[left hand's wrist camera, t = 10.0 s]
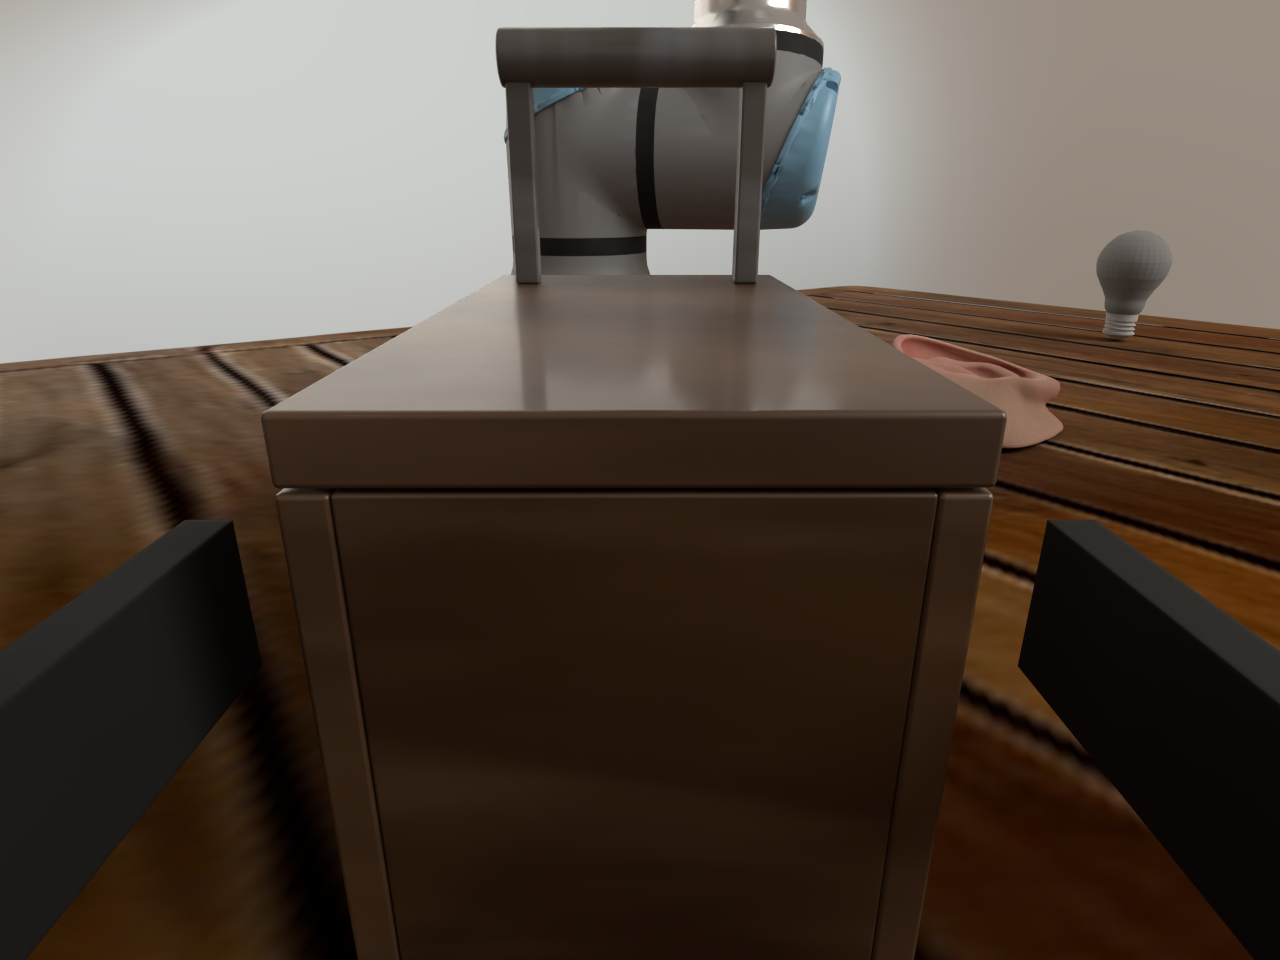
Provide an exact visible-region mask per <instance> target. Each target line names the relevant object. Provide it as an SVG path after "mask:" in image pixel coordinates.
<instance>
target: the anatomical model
mask: <svg viewBox="0 0 1280 960" xmlns="http://www.w3.org/2000/svg"><path fill="white" fill-rule="evenodd" d="M892 346H893V347H894V348H896V349H898V350H900V351H901V352H903V353H905V354H906V355H908V356H910V357H912V358H913V359H915V360H917V361H919V362H920V363H922V364H924V365H925V366H927V367H929V368H931V369H932V370H934V371H936V372H937V373H939V374H941V375H943V376H944V377H946V378H948V379H950V380H951V381H953V382H955V383H956V384H958V385H960V386H962V387H963V388H965V389H967V390H968V391H970V392H972V393H974V394H975V395H977V396H979V397H980V398H982V399H984V400H986V401H987V402H989V403H991V404H993V405H994V406H996V407H998V408H999V409H1001V410H1003V411H1005V412H1006V416H1007V422H1006V427H1005V433H1004V439H1003V445H1002V448H1022V447H1027V446H1031V445H1034V444H1037V443H1040V442H1042V441H1045V440H1047V439H1050V438H1052V437H1054V436H1055V435H1057V434H1058V433H1059V432H1061V431H1062V430H1063V425H1062V423H1061V422H1060V421H1059V420H1058V419H1057V418H1056V417H1055V416H1054V415H1053V414H1052V413H1051V412H1050V411H1049V410H1048V409H1047V408H1046V406H1045V404H1046V403H1047V402H1048V401H1049V400H1051V399H1052V398H1054V397H1055V396H1056V395H1057V394H1058V393H1059V390H1060V383H1059V382H1058V381H1057V380H1055V379H1053V378H1050V377H1048V376H1045V375H1042V374H1039V373H1037V372H1034V371H1031V370H1028V369H1025V368H1023V367H1020V366H1017V365H1015V364H1012V363H1010V362H1007V361H1004V360H1001V359H998V358H996V357H992V356H989V355H986V354H982V353H979V352H975V351H972V350H969V349H966V348H962V347H959V346H956V345H952V344H949V343H945V342H942V341H938V340H935V339H931V338H927V337H922V336H917V335H901V336H898V337H896V338H895V339H894V341H893V343H892Z"/></svg>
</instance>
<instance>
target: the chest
mask: <svg viewBox="0 0 1280 960" xmlns="http://www.w3.org/2000/svg"><path fill="white" fill-rule="evenodd" d="M992 505H993V495H992V493H991V492H990V491H989V490H987V489H986V488H284V489H283V490H281V491H280V492H279V493H278V494H277V495H276V506H277V512H278V517H279V523H280V529H281V534H282V540H283V545H284V551H285V556H286V562H287V568H288V573H289V579H290V584H291V590H292V595H293V601H294V606H295V612H296V618H297V623H298V629H299V634H300V640H301V645H302V651H303V657H304V662H305V668H306V673H307V679H308V684H309V690H310V696H311V701H312V707H313V712H314V718H315V723H316V729H317V734H318V740H319V746H320V751H321V757H322V762H323V768H324V773H325V779H326V785H327V790H328V796H329V801H330V807H331V812H332V818H333V824H334V829H335V835H336V840H337V846H338V851H339V857H340V862H341V868H342V874H343V879H344V885H345V890H346V896H347V901H348V907H349V913H350V918H351V924H352V929H353V935H354V940H355V946H356V952H357V957H358V960H914V955H915V949H916V943H917V937H918V932H919V926H920V920H921V914H922V909H923V903H924V897H925V891H926V886H927V880H928V874H929V868H930V862H931V857H932V851H933V845H934V839H935V834H936V828H937V822H938V816H939V811H940V805H941V799H942V793H943V787H944V782H945V776H946V770H947V764H948V759H949V753H950V747H951V741H952V736H953V730H954V724H955V718H956V712H957V707H958V701H959V695H960V689H961V684H962V678H963V672H964V666H965V661H966V655H967V649H968V643H969V638H970V632H971V626H972V620H973V614H974V609H975V603H976V597H977V591H978V586H979V580H980V574H981V568H982V563H983V557H984V551H985V545H986V539H987V534H988V528H989V522H990V516H991V511H992Z"/></svg>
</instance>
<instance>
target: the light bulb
mask: <svg viewBox="0 0 1280 960" xmlns="http://www.w3.org/2000/svg"><path fill="white" fill-rule="evenodd" d="M1171 264H1172V254H1171V251H1170V248H1169V246H1168V244H1167V243H1166V242H1165V241H1164V240H1163V239H1162V238H1161V237H1160V236H1158V235H1156V234H1154V233H1151V232H1148V231H1132V232H1127V233H1124V234H1122V235H1119V236H1118V237H1116V238H1115V239H1113V240H1112V241H1111V242H1110V243H1108V244H1107V246H1106V247H1105V248H1104V249H1103V250H1102V252H1101V253H1100V255H1099V257H1098V260H1097V276H1098V279H1099V281H1100V284H1101V286H1102V289H1103V292H1104V295H1105V309H1106V311H1107V312H1106V319H1107V320H1105V322H1107V324H1105V325H1104V326H1105V327H1106V328H1104V329H1103V333H1105V334H1106V335H1108V336H1109V337H1110V338H1115V339H1124V338H1127V337H1129V336H1132V335H1134V332H1133V330H1135V329H1133V327H1134V326H1136V325H1135V324H1134V323H1135V322H1136V321H1137V319H1138V316H1139V313H1140V312H1141V311H1142V310H1143V308H1144V306H1145V303H1146V301H1147V299H1148V297H1149V296H1150V295H1151V294H1152V293H1153V291H1154V290H1155V289H1156V288H1157V287H1158V286H1159V285H1160V283H1161V282H1162V281H1163V280H1164V279H1165V278H1166V276H1167V274H1168V272H1169V270H1170V267H1171Z"/></svg>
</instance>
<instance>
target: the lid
mask: <svg viewBox="0 0 1280 960" xmlns="http://www.w3.org/2000/svg"><path fill="white" fill-rule="evenodd" d="M776 57H777V35H776V31H775V28H773V27H500V28H498V29H497V33H496V62H497V70H498V75H499V80H500V83H501V85H502V87H504V88H506V106H507V124H508V142H509V160H510V178H511V196H512V214H513V232H514V251H515V269H516V275H504V276H502V277H500V278H498V279H497V280H495V281H493V282H491V283H489V284H488V285H486V286H484V287H483V288H481V289H479V290H477V291H476V292H474V293H472V294H470V295H468V296H467V297H465V298H463V299H461V300H460V301H458V302H456V303H454V304H453V305H451V306H449V307H447V308H446V309H444V310H442V311H440V312H439V313H437V314H435V315H433V316H432V317H430V318H428V319H426V320H425V321H423V322H421V323H419V324H418V325H416V326H414V327H412V328H410V329H409V330H407V331H405V332H403V333H402V334H400V335H398V336H396V337H395V338H393V339H391V340H389V341H388V342H386V343H384V344H382V345H381V346H379V347H377V348H375V349H374V350H372V351H370V352H368V353H367V354H365V355H363V356H361V357H360V358H358V359H356V360H354V361H353V362H351V363H349V364H347V365H346V366H344V367H342V368H340V369H338V370H337V371H335V372H333V373H331V374H330V375H328V376H326V377H324V378H323V379H321V380H319V381H317V382H316V383H314V384H312V385H310V386H309V387H307V388H305V389H303V390H302V391H300V392H298V393H296V394H295V395H293V396H291V397H289V398H288V399H286V400H284V401H282V402H281V403H279V404H277V405H275V406H274V407H272V408H270V409H268V410H267V411H265V412H263V413H262V417H261V421H262V427H263V433H264V438H265V444H266V449H267V455H268V460H269V466H270V472H271V477H272V483H273V485H274V486H275V487H277V488H989V487H993V486H994V485H995V483H996V479H997V474H998V468H999V462H1000V456H1001V451H1002V445H1003V439H1004V433H1005V427H1006V422H1007V416H1006V412H1005V411H1003V410H1001V409H999V408H998V407H996V406H994V405H993V404H991V403H989V402H987V401H986V400H984V399H982V398H980V397H979V396H977V395H975V394H974V393H972V392H970V391H968V390H967V389H965V388H963V387H962V386H960V385H958V384H956V383H955V382H953V381H951V380H950V379H948V378H946V377H944V376H943V375H941V374H939V373H937V372H936V371H934V370H932V369H931V368H929V367H927V366H925V365H924V364H922V363H920V362H919V361H917V360H915V359H913V358H912V357H910V356H908V355H906V354H905V353H903V352H901V351H900V350H898V349H896V348H894V347H893V346H891V345H889V344H888V343H886V342H884V341H882V340H881V339H879V338H877V337H876V336H874V335H872V334H870V333H869V332H867V331H865V330H863V329H862V328H860V327H858V326H857V325H855V324H853V323H851V322H850V321H848V320H846V319H845V318H843V317H841V316H839V315H838V314H836V313H834V312H832V311H831V310H829V309H827V308H826V307H824V306H822V305H820V304H819V303H817V302H815V301H814V300H812V299H810V298H808V297H807V296H805V295H803V294H802V293H800V292H798V291H796V290H795V289H793V288H791V287H789V286H788V285H786V284H784V283H782V282H781V281H779V280H777V279H776V278H774V277H772V276H770V275H758V256H759V236H760V217H761V197H762V178H763V159H764V139H765V120H766V101H767V88H769V87H770V86H771V85H772V82H773V79H774V74H775V67H776ZM533 88H740V96H739V121H738V146H737V170H736V195H735V220H734V244H733V269H732V275H541V256H540V234H539V211H538V188H537V165H536V143H535V120H534V97H533Z"/></svg>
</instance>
